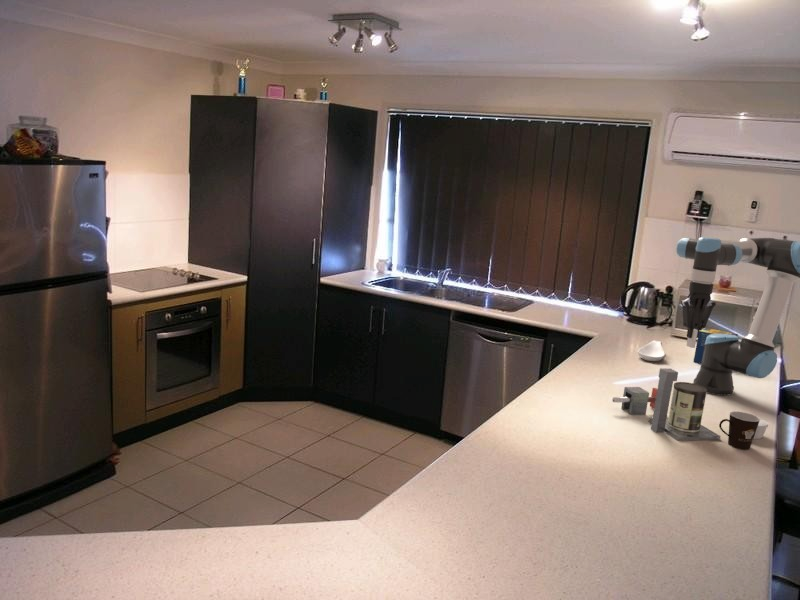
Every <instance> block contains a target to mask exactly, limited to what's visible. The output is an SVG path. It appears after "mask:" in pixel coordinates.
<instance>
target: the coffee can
mask: <svg viewBox="0 0 800 600" xmlns="http://www.w3.org/2000/svg"><path fill="white" fill-rule="evenodd" d="M672 390H673V391H672V396H671V400H670V401H671V403H670V406H669V407H670V408H669V414H668V418H669V419H668V425H669V426H670V427H672V428H674V429H677V430H680V431H684V432H699V431H700V426H701V425H702V419H703V418H702V417H703V413H704V408H705V403H706V398H707V397H706V396H707V394H708V393H707V389H706V388H704V387H703V386H700V385H697V384H693V383H692V382H686V381H675V382H673V388H672Z"/></svg>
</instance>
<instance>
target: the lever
mask: <svg viewBox="0 0 800 600" xmlns="http://www.w3.org/2000/svg"><path fill="white" fill-rule="evenodd" d="M657 389H658V387H652V391H651V396H649V398H648V403H649V407H650V408H652V409H654V407H655V401H656V395H657ZM612 402H613V403H622V402H631V397H623V396H622V397H621V396H620V397H619V396H618V397H617V396H614V397H612Z"/></svg>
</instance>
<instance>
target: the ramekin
mask: <svg viewBox="0 0 800 600" xmlns="http://www.w3.org/2000/svg"><path fill="white" fill-rule="evenodd" d="M758 418H759V419H760V421H759V424H758V427H757V430H756V433H755V435H754V438H753V440H760V439H762V438H763V437H764V435H765V432H766V431H767V428H768V426H769V423H768V422H767V421H766V420H764V419H762V418H760V417H758ZM759 438H760V439H759Z"/></svg>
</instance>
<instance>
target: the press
mask: <svg viewBox="0 0 800 600" xmlns="http://www.w3.org/2000/svg"><path fill="white" fill-rule="evenodd" d="M678 376H679V372H678V371H676V370H674V369H672V368H668V367H667V368H666V367H665V368H662V367H660V368H659V371H658V385H657V395H656V401H655V407H654V408H653V413H652V417H649V418H648V421H647V422H648V423H650V425H651V426H650V430H651V431H652V432H654V433H656V434H659V433H665V434H667V435H668V436H670V437H672V438H673V439H675V440H676V441H679V442H680V441H684V442H685V441H714V440H716V441H717V440H718V441H719V440H721V435H720V434H718V433H716V432H714V431H713V430H711V429H709V428H707V427H706V426H704V425H702V424H701V426H700V431H699V432H684V431H680V430H677V429H674V428H672V427H670V426H669V425H668V419H669V417H668V411H669V407H670V401H671V397H672V396H671V394H672V392H673V391H672V390H673V386H674V382H678V381H677V380H678ZM622 397H631V402H621V407H620V409H621V410H622V411H626V410H627V411H628V415H631V416H643V415H644V416H645V415H646V414H647V409H648V404H649V402H648V398H649V397H650V392H649V391H647V390H646V389H643V388H642V387H640V386H625V387H624V389H623V394H622ZM646 416H647V415H646Z"/></svg>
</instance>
